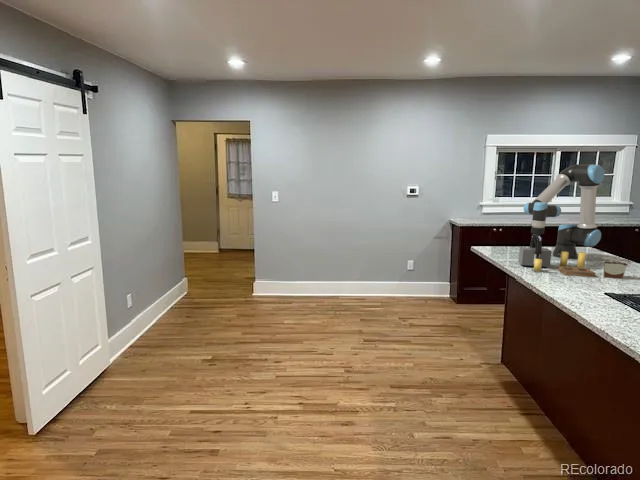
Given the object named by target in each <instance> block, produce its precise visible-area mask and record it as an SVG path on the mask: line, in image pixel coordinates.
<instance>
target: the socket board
mask: <svg viewBox="0 0 640 480" xmlns="http://www.w3.org/2000/svg"><path fill="white" fill-rule="evenodd" d="M557 271H558V272H560V273H561V274H563V275H564V276H566V277H567V276H572V277H584V278H585V277H586V278H587V277H588V278H595V277H596V272H595V271H593V270H591V269H589V268H588V267H584V268H577V266H575V267H574V266H567V267H561V266H560V265H559V266H558V267H557Z"/></svg>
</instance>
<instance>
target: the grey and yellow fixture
mask: <svg viewBox="0 0 640 480" xmlns="http://www.w3.org/2000/svg"><path fill="white" fill-rule="evenodd" d="M542 267H543V266H542V259H535V263H534V266H533V269H531V271H532V272H533V271H534V272H533V273H542V272H543V274H558V272H557V271H556V270H548V269H546V270H545V269H542Z"/></svg>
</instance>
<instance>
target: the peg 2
mask: <svg viewBox="0 0 640 480" xmlns="http://www.w3.org/2000/svg"><path fill="white" fill-rule="evenodd" d="M586 257H587V253H586V252H582V251H579V252H578V254H577V262H576V263H577V265H576V267H577V268H585V265H586Z"/></svg>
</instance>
